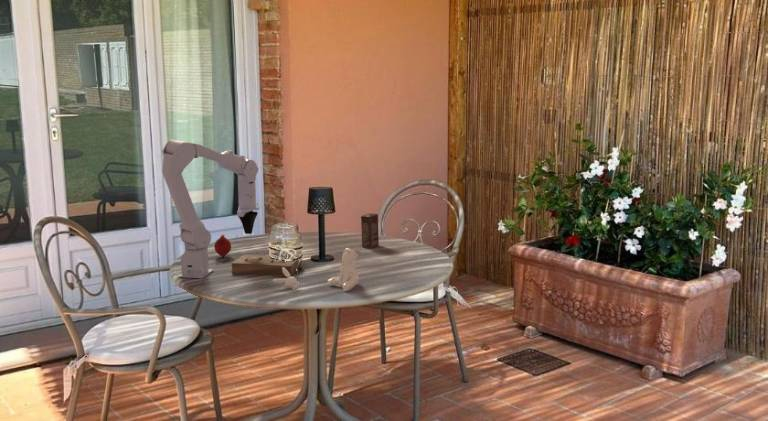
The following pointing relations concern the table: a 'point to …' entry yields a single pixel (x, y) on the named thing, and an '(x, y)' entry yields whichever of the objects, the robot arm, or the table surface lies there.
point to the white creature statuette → (346, 272)
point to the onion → (222, 246)
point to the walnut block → (262, 266)
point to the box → (369, 230)
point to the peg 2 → (278, 261)
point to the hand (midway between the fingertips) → (248, 233)
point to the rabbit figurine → (287, 280)
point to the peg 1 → (254, 259)
